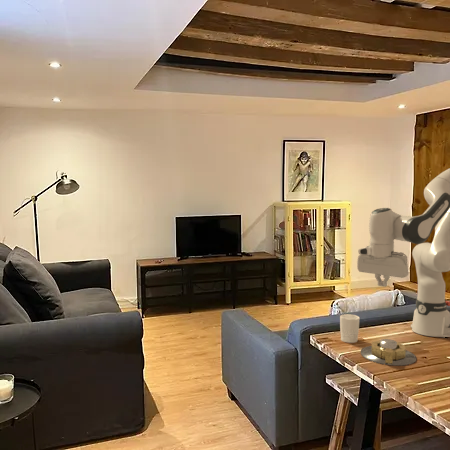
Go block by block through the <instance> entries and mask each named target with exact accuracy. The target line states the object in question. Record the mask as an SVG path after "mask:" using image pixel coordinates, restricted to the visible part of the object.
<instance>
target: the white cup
mask: <svg viewBox="0 0 450 450" xmlns="http://www.w3.org/2000/svg"><path fill="white" fill-rule="evenodd" d="M339 328H340V329H339V330H340V341H341V342H344V343H348V344H353V343H354V344H355V343H357V342H358V339H359V332H360V331H359V330H360V329H359V328H360V316H358V315H356V314H350V313H349V314H348V313H347V314H346V313H345V314H341V315H340V316H339Z"/></svg>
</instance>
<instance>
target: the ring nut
mask: <svg viewBox="0 0 450 450" xmlns="http://www.w3.org/2000/svg"><path fill="white" fill-rule="evenodd" d="M380 340H381V339H380ZM380 340H379V339H378V340H375V341H371V346H372V354H373V355H375V356H377V357H380V358H383V359H385V363H392V361H393V360H398V359H402V358H405V354H406V350H407V349H406V345H405V344H403V343H400V342H397V349H395V350H392V349H388V348H385V349H383V348H381V347H380Z"/></svg>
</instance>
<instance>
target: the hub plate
mask: <svg viewBox="0 0 450 450" xmlns="http://www.w3.org/2000/svg"><path fill="white" fill-rule="evenodd" d="M397 343H398V341H396V340H394V339H389V338H384V339H383V338H382V339H380V347H381V348H383V349H385V348H388V349H392V350H395V349H397ZM360 355H361V356H362V357H363V358H365V359H366V360H367V359H368V361H369V362H372V361H373V363H375V362H376V364H379V363H380V365H384V364H385V365H384V366H393V367H394V366H395V367H400V366H401V367H402V366H404V367H405V366H410V365H412V364H415V362H417V356H416V355H415V354H414V353H413V352H411V351H409V350H407V349H406V354H405V358H402V359H398V360H393V361H392V363H385V359H383V358H380V357H377V356H375V355H373V354H372V345H369V346H365V347H363V348H362V349H361V350H360ZM409 364H410V365H409Z"/></svg>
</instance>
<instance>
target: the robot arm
mask: <svg viewBox="0 0 450 450" xmlns="http://www.w3.org/2000/svg"><path fill="white" fill-rule="evenodd" d="M423 197H424V199H425V201H426V203H427V205H428V207H427V209H426V210H424V212H423V213H422V214H420V215H415V216H410V215H408V216H407V215H402V214H398V213H396V212H395V211H393V210H392V209H391V208H389V207H382V208H376V209H374V210H372V211H371V213H370V217H369V225H368V227H369V228H368V229H369V235H370V240H369V245H368V246H367V245H366V246H364V247H362V248H359V249H358V257H357V261H356V263H357V270H358V272H359V273H366V274H373V275H374V278H375V279H376V281H377V286H378V287H383V288H385V287H387V286H388V282H389V279H390V278H391V277H394V278H401V279H402V278H403V279H404V278H407V277H408V276H409V266H408V256H407V255H406V254H405V253H404V252H398V251H395V242H394V241H395V240H396V241H401V242H407V243H411V244H415V246H414V247H413V249H412V252H411V254H412V259H413V261H414V264H415V271H416V277H417V298H415V299H416V300H415V307H416V308H415V309H414V311H413V319H412V323H411V324H410V327H411V331H413V332H414V333H416V334H418V335H422V336H425V337H435V338H445V337H450V311H449V310H448V307H450V300H446V281H445V280H444V276H443V274H442V273H446V272H450V168H447V169H446V170H444V171H442V172H441V173H439V174H438V175H436V177H434V178H433V179H431V181H429V183H428V184H427V185H426V186H425V187H424V189H423ZM433 230H434V235H433V239H432V242H427V240H428V239H429V237H430V236H431V233H432V232H433ZM381 277H383V280H382V278H381Z"/></svg>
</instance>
